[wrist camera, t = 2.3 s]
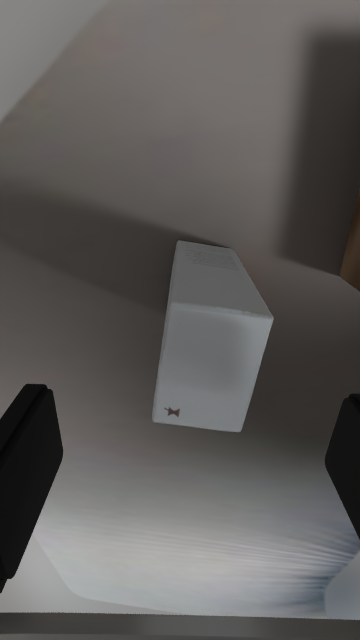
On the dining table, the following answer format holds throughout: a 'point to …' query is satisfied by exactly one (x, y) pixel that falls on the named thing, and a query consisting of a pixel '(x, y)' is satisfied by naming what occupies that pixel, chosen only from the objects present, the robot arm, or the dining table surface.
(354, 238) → the tan flat square block
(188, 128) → the dining table surface
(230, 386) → the skincare box
